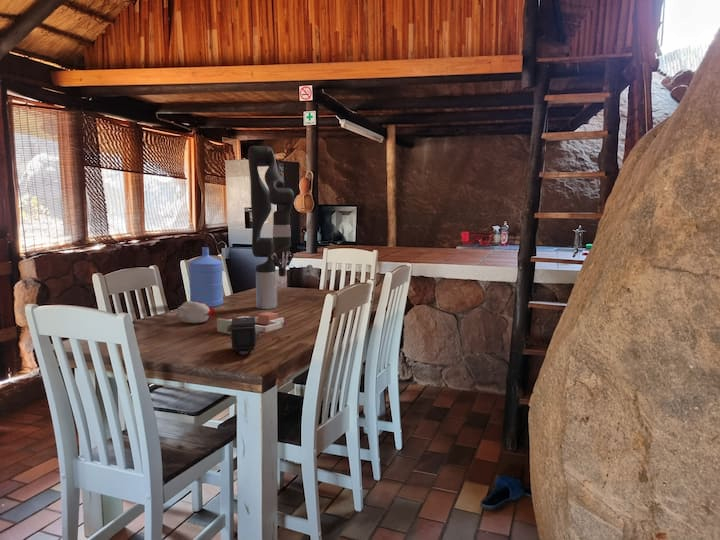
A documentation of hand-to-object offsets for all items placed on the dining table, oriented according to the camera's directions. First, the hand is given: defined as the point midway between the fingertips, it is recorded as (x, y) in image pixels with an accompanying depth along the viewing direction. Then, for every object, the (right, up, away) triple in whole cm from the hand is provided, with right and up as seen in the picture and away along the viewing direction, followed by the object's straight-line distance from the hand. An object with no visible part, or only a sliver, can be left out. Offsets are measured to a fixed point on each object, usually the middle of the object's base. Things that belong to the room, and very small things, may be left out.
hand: (282, 276), depth 231 cm
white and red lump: (-34, -19, -5) cm, 39 cm away
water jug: (-42, -15, +34) cm, 55 cm away
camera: (-6, -25, -49) cm, 55 cm away
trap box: (-10, -20, -13) cm, 26 cm away
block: (-5, -20, -5) cm, 21 cm away
